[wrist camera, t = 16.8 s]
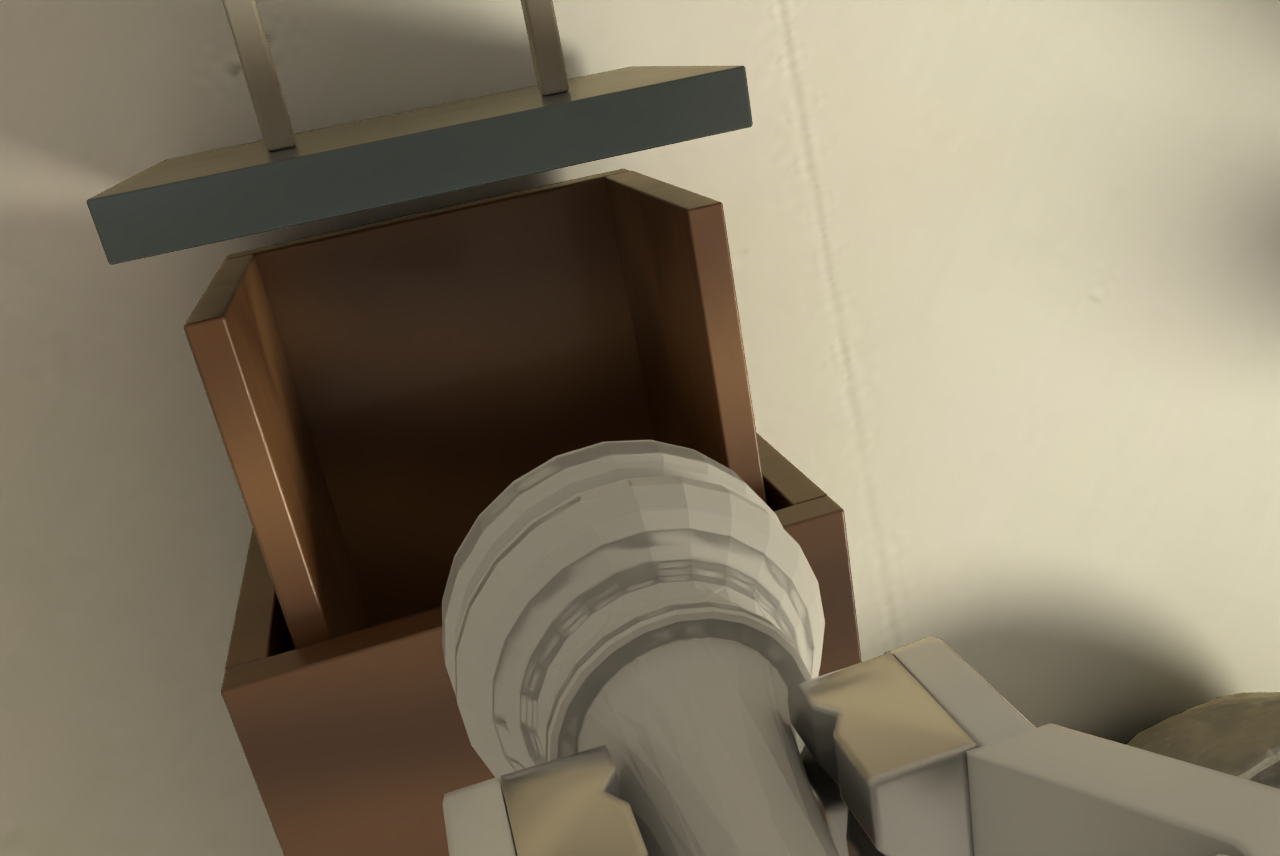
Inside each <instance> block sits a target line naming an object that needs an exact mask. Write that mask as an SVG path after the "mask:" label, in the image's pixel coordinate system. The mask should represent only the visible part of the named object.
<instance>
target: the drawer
mask: <svg viewBox="0 0 1280 856" xmlns="http://www.w3.org/2000/svg"><path fill="white" fill-rule="evenodd" d="M222 2H223V5H224V8H225V12H226V15H227V18H228V22H229V25H230V28H231V32H232V35H233V38H234V42H235V45H236V48H237V52H238V55H239V58H240V62H241V65H242V68H243V72H244V75H245V78H246V82H247V85H248V89H249V92H250V95H251V99H252V102H253V105H254V109H255V112H256V115H257V119H258V122H259V125H260V129H261V132H262V135H263V139H264V140H263V141H258V142H253V143H248V144H243V145H238V146H233V147H228V148H223V149H218V150H213V151H208V152H203V153H198V154H193V155H188V156H183V157H178V158H173V159H168V160H164V161H162V162H160V163H158V164H156V165H154V166H152V167H150V168H148V169H147V170H145V171H143V172H141V173H139V174H137V175H135V176H133V177H131V178H129V179H127V180H125V181H123V182H121V183H119V184H117V185H115V186H113V187H112V188H110V189H108V190H106V191H104V192H102V193H100V194H98V195H96V196H94V197H92V198H90V199H88V200H87V205H88V208H89V211H90V213H91V216H92V219H93V222H94V224H95V227H96V230H97V232H98V235H99V238H100V241H101V243H102V246H103V249H104V251H105V254H106V257H107V260H108V262H109V264H111V265H113V264H118V263H123V262H127V261H132V260H137V259H141V258H146V257H151V256H155V255H160V254H164V253H169V252H174V251H178V250H183V249H188V248H192V247H197V246H201V245H206V244H211V243H215V242H220V241H225V240H229V239H234V238H239V237H243V236H248V235H252V234H257V233H262V232H266V231H271V230H276V229H280V228H285V227H290V226H294V225H299V224H303V223H308V222H313V221H317V220H322V219H327V218H331V217H336V216H340V215H345V214H350V213H354V212H359V211H364V210H368V209H373V208H378V207H382V206H387V205H391V204H396V203H401V202H405V201H410V200H415V199H419V198H424V197H428V196H433V195H438V194H442V193H447V192H452V191H456V190H461V189H466V188H470V187H475V186H479V185H484V184H489V183H493V182H498V181H503V180H507V179H512V178H516V177H521V176H526V175H530V174H535V173H540V172H544V171H549V170H554V169H558V168H563V167H567V166H572V165H577V164H581V163H586V162H591V161H595V160H600V159H605V158H609V157H614V156H618V155H623V154H628V153H632V152H637V151H642V150H646V149H651V148H655V147H660V146H665V145H669V144H674V143H679V142H683V141H688V140H693V139H697V138H702V137H706V136H711V135H716V134H720V133H725V132H730V131H734V130H739V129H743V128H748V127H751V126H752V124H753V123H752V116H751V108H750V101H749V93H748V86H747V78H746V71H745V67H744V66H640V67H627V68H622V69H617V70H612V71H607V72H602V73H597V74H592V75H587V76H582V77H577V78H572V79H567V74H566V69H565V64H564V58H563V53H562V48H561V43H560V38H559V32H558V27H557V22H556V17H555V12H554V7H553V1H552V0H521V4H522V9H523V14H524V19H525V24H526V29H527V34H528V39H529V44H530V49H531V53H532V58H533V63H534V68H535V73H536V78H537V83H538V85H537V86H532V87H527V88H522V89H517V90H512V91H507V92H502V93H497V94H492V95H487V96H482V97H477V98H472V99H467V100H462V101H457V102H452V103H447V104H442V105H437V106H432V107H427V108H422V109H417V110H412V111H407V112H402V113H397V114H392V115H387V116H382V117H377V118H372V119H367V120H362V121H357V122H352V123H347V124H343V125H338V126H333V127H328V128H323V129H318V130H313V131H308V132H303V133H298V134H294V132H293V129H292V125H291V122H290V118H289V115H288V111H287V108H286V104H285V101H284V97H283V94H282V90H281V87H280V84H279V80H278V77H277V73H276V70H275V66H274V63H273V59H272V56H271V52H270V49H269V45H268V42H267V38H266V35H265V32H264V28H263V25H262V21H261V18H260V14H259V11H258V7H257V4H256V0H222ZM184 330H185V333H186V336H187V339H188V342H189V345H190V348H191V351H192V353H193V356H194V359H195V362H196V365H197V368H198V371H199V373H200V376H201V379H202V382H203V385H204V388H205V391H206V394H207V396H208V399H209V402H210V405H211V408H212V411H213V414H214V416H215V419H216V422H217V425H218V428H219V431H220V434H221V437H222V439H223V442H224V445H225V448H226V451H227V454H228V457H229V460H230V462H231V465H232V468H233V471H234V474H235V477H236V480H237V482H238V485H239V488H240V491H241V494H242V497H243V500H244V503H245V505H246V508H247V511H248V514H249V517H250V520H251V523H252V525H253V528H254V531H255V534H256V537H257V540H258V543H259V546H260V548H261V551H262V554H263V557H264V560H265V563H266V566H267V568H268V571H269V574H270V577H271V580H272V583H273V586H274V589H275V591H276V594H277V597H278V600H279V603H280V606H281V609H282V611H283V614H284V617H285V620H286V623H287V626H288V629H289V632H290V634H291V637H292V640H293V643H294V646H295V649H298V648H302V647H305V646H308V645H312V644H315V643H319V642H322V641H326V640H329V639H333V638H336V637H340V636H343V635H347V634H350V633H354V632H357V631H360V630H364V629H367V628H371V627H374V626H378V625H381V624H385V623H388V622H392V621H395V620H399V619H402V618H406V617H409V616H412V615H416V614H419V613H423V612H426V611H430V610H433V609H437V608H440V607H442V599H443V595H444V592H445V588H446V584H447V581H448V577H449V574H450V570H451V566H452V563H453V559H454V556H455V554H456V553H457V551H458V549H459V548H460V546H461V544H462V543H463V541H464V539H465V538H466V536H467V534H468V533H469V531H470V529H471V528H472V526H473V524H474V523H475V521H476V519H477V518H478V516H479V515H480V514H481V513H482V512H483V511H484V510H485V509H486V508H487V507H488V506H489V505H490V504H491V503H492V502H493V501H494V500H495V499H496V498H497V497H498V496H499V495H500V494H501V493H502V492H503V491H504V490H505V489H506V488H507V487H508V486H509V485H510V484H511V483H512V482H513V481H515V480H516V479H518V478H520V477H521V476H523V475H525V474H526V473H528V472H530V471H532V470H533V469H535V468H537V467H538V466H540V465H542V464H543V463H545V462H547V461H548V460H550V459H552V458H553V457H555V456H557V455H561V454H564V453H567V452H571V451H574V450H577V449H581V448H584V447H587V446H591V445H594V444H597V443H600V442H609V441H631V440H654V441H658V442H663V443H667V444H672V445H676V446H681V447H685V448H690V449H694V450H696V451H698V452H700V453H702V454H703V455H705V456H707V457H709V458H711V459H713V460H714V461H716V462H718V463H720V464H722V465H724V466H725V467H727V468H729V469H731V470H733V471H734V472H735V473H736V474H737V475H738V476H739V477H740V478H741V479H742V480H743V481H744V482H745V483H746V484H747V485H748V486H749V487H750V488H751V489H752V490H753V491H754V492H755V493H756V494H757V495H758V496H759V497H760V498H761V499H762V500H763V501H764V502H765V503H766V496H765V489H764V483H763V476H762V469H761V462H760V455H759V449H758V442H757V435H756V428H755V421H754V415H753V408H752V401H751V394H750V387H749V381H748V374H747V367H746V360H745V354H744V347H743V340H742V333H741V326H740V320H739V313H738V306H737V299H736V292H735V286H734V279H733V272H732V265H731V258H730V252H729V245H728V238H727V231H726V225H725V218H724V211H723V204H722V203H721V202H718V201H716V200H713V199H710V198H707V197H704V196H702V195H699V194H696V193H693V192H690V191H687V190H685V189H682V188H679V187H676V186H673V185H670V184H668V183H665V182H662V181H659V180H656V179H653V178H651V177H648V176H645V175H642V174H639V173H637V172H634V171H629V170H626V169H620V170H615V171H611V172H606V173H601V174H597V175H592V176H588V177H583V178H579V179H574V180H569V181H565V182H560V183H556V184H551V185H546V186H542V187H537V188H533V189H528V190H524V191H519V192H514V193H510V194H505V195H501V196H496V197H492V198H487V199H482V200H478V201H473V202H469V203H464V204H459V205H455V206H450V207H446V208H441V209H437V210H432V211H427V212H423V213H418V214H414V215H409V216H405V217H400V218H395V219H391V220H386V221H382V222H377V223H373V224H368V225H363V226H359V227H354V228H350V229H345V230H340V231H336V232H331V233H327V234H322V235H318V236H313V237H308V238H304V239H299V240H295V241H290V242H286V243H281V244H276V245H272V246H267V247H263V248H258V249H253V250H249V251H244V252H240V253H235V254H231V255H228V256H227V257H226V259H225V261H224V262H223V264H222V265H221V267H220V269H219V270H218V272H217V273H216V275H215V277H214V278H213V280H212V281H211V283H210V285H209V286H208V288H207V290H206V291H205V293H204V294H203V296H202V298H201V299H200V301H199V303H198V304H197V306H196V307H195V309H194V311H193V312H192V314H191V316H190V317H189V319H188V320H187V322H186V324H185V325H184ZM766 504H767V503H766Z"/></svg>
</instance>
